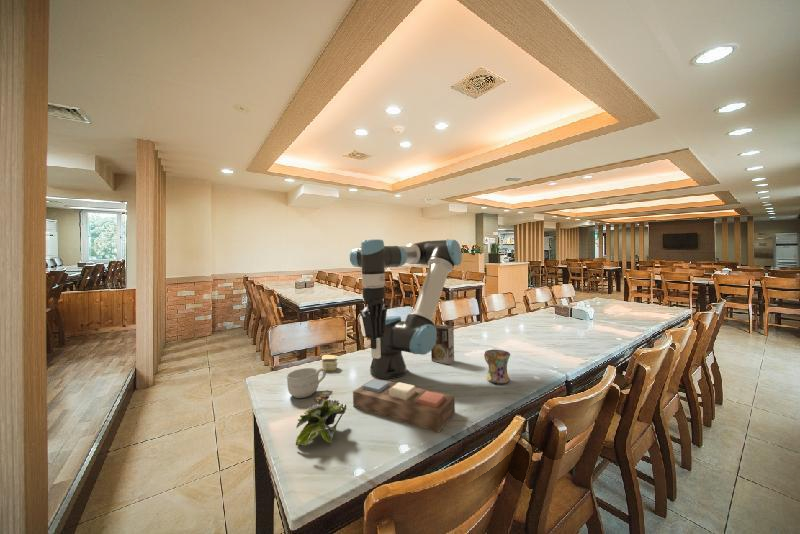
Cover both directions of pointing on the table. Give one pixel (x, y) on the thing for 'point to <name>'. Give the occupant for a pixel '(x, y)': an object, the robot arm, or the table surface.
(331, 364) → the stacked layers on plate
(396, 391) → the key cream
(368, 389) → the key blue
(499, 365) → the mug
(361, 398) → the key panel
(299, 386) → the teacup
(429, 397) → the key red
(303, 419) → the green leafy cluster
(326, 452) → the table surface
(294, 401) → the table surface
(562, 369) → the table surface
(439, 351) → the coffee box
